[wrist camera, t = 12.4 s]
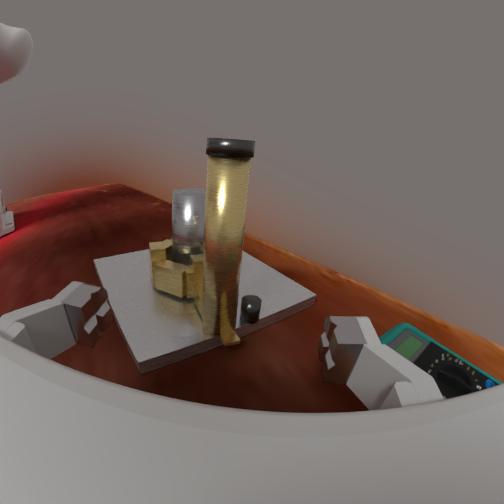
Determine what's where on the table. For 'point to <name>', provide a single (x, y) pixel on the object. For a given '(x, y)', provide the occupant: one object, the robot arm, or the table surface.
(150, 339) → the spigot base
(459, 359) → the digital multimeter
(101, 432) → the robot arm
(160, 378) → the table surface
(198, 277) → the brass metal fixture
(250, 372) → the table surface
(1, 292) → the table surface
